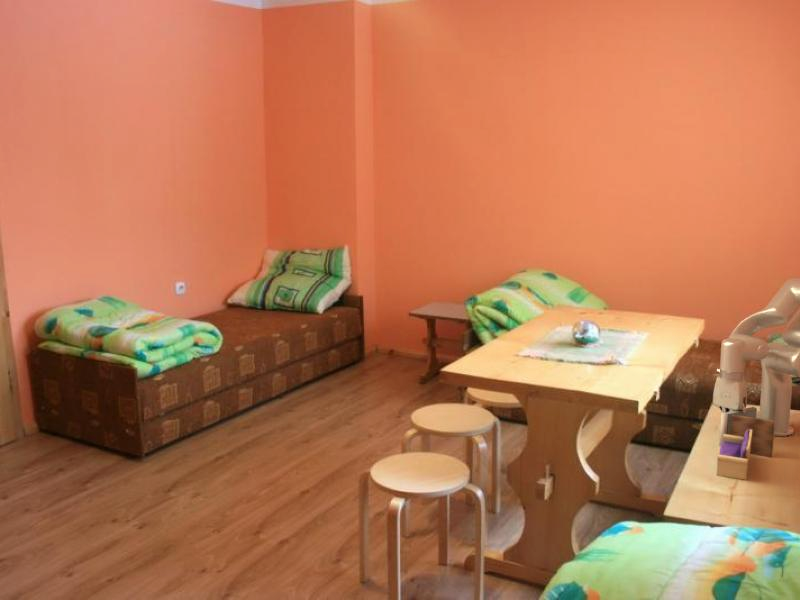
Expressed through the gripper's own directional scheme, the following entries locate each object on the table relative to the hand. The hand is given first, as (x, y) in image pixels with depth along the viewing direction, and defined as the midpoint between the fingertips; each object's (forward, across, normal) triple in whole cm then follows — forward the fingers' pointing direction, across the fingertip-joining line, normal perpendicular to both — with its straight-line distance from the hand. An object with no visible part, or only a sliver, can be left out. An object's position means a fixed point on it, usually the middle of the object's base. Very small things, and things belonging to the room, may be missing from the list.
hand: (728, 426), depth 247 cm
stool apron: (+4, +12, -6) cm, 14 cm away
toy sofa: (+5, +15, -20) cm, 25 cm away
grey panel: (+4, +4, -1) cm, 6 cm away
